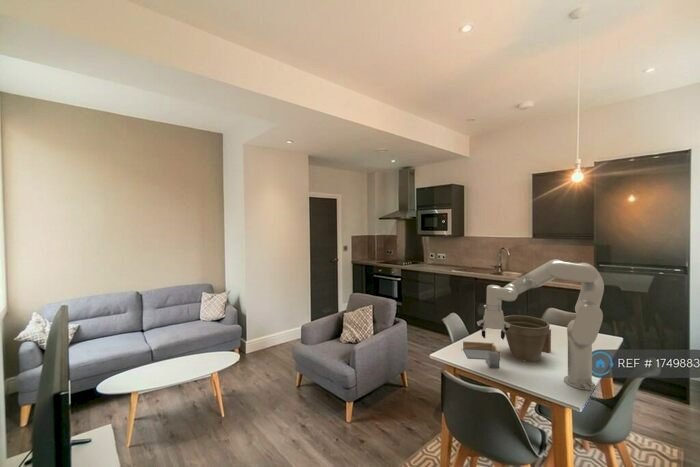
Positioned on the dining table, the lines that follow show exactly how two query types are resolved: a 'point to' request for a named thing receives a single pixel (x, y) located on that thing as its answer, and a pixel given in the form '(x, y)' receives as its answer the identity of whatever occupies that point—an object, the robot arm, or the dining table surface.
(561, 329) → the dining table surface
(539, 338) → the plant pot
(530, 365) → the dining table surface
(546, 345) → the wooden block
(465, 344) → the walls
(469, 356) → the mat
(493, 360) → the bracket
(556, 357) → the dining table surface
